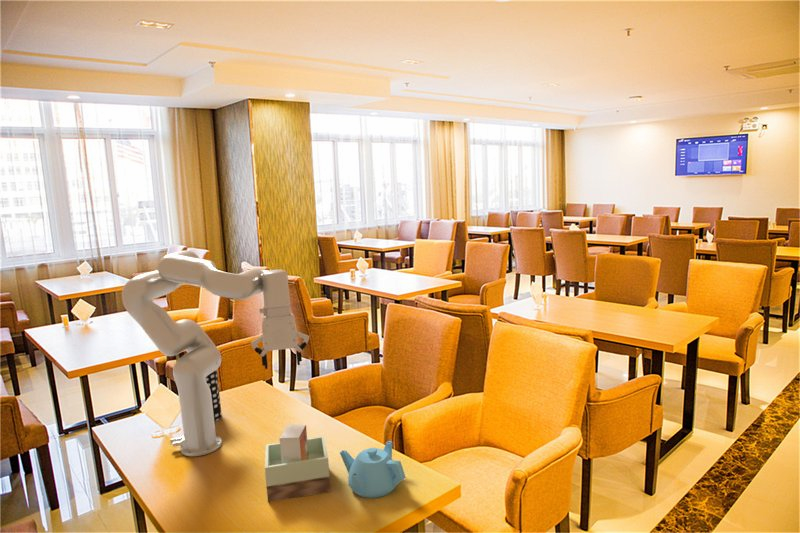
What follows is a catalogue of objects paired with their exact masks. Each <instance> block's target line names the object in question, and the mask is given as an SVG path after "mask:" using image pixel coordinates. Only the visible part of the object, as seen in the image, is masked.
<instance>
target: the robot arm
mask: <svg viewBox="0 0 800 533" xmlns="http://www.w3.org/2000/svg"><path fill="white" fill-rule="evenodd" d="M288 277H289V276H288V272H287V271H286V270H284V269H270V270H269V269H262V268H251V269H248V270H245V271H242V272H240V273H232V272H226V271H222V270H218V269H217V266H216V263H215V262H214V261H213V260H210V259H204V258H200V257H199V256H198V255H197V254H196V253H195V252H193V251H191V250H180V251H175V252H172V253H168V254H165V255H164V256H163V257H161V258H160V260H159V261H158V262H157V265H156V269H155V270H154V271H149V272H145V273H143V274H142V273H141V274H139V275H136V276H134V277H132V278H130V279H129V280H128V281H126V283H125V284H124V286H123V288H122V290H121V291H122V292H121V299H122V300H121V301H122V305H123V306H124V308H125V310H126V312H127V313H128V315H129V316H130V317H132V319H134V321H135V322H136V323H137V324H138V325H139V326H140V327H141V328H142V330H143V331H144V333H145V334H146V335H147V336H148V338H149V339H150V340H151V341H152V343H153V344H154V345H155V347H156V348H157V350H159V351H160V353H161V354H163V355H164V356H166V357H174V356H177V355H179V354H181V353H183V352H184V351H186V353H185V354H184V355H182V356H181V357H179V358H178V359H177V360H176V362H175V363H174V365H173V368H172V375H173V379H174V383H175V385H176V388H177V393H178V399H179V408H180V414H181V421H182V422H181V423H182V429H183V435H180V436H179V437H171V438H170V439H169V440H170V442H169V444H170V445H172V447H173V448H174V447H179V446H180V448H179V450H180V453H181V454H182V455H183V456H186V457H201V456H206V455H208V454H211V453H213V452H215V451H217V450H219V448H220V447H221V446H222V442H223V441H222V437H220V436H218V435H216V433H217V432H216V425H215V424H216V423H215V422H214V414H213V405H212V397H211V391H210V388H209V386H208V384H207V382H206V377H207V376H208V375H209V374H211V373H212V372H214V371H215V370H216V369H217V370H218V368H220V365H221V363H222V354H221V352H220V350H219V348H218V347H217V346H216V345H215V343H214V341H213V340H212V339H211V338H210V337H209V335H208V334H207V333H206V332H205V330H204V329H203V328H202V327H201V326H200V324H199V323H197V322H196V321H194V320H192V319H188V318H183V319H179V320H177V321H175V320H174V319H173V318H172V317H171V315H169V313H168V312H167V311H166V310H165V309H164V308H163V307H162V306H160V305H158V304H157V303H155V302H153V301H154V300H156V299H158V298H160V297H164V296H166V295H169V294H171V293H172V292H174V291H175V290H177V289H178V288H180V286H182V285H183V284H184V285H188V286H189V285H190V286H194V287H197V288H198V287H199V288H203V289H205V290H206V291H207V292H209V293H211V294H213V295H215V296H218V297H222V298H227V299H231V300H232V299H233V300H241V301H242V300H247V299H249V298H251V297H254V296H255V295H258V294H261V293H262V294H263V295H262V296H263V303H264V304H263V305H264V306H263V308H260V309H259V314H263V316H262V321H261V322H262V323H261V324H262V325H261V332H262V333H261V335H260V336H258V337H257V338H255V339H254V340H252V341H251V342H250V345H251V347H252V348H253V350H254V352H256V353H257V354H258V355H260V357H261V365H262V367H264V369H265V370H267V369H268V366H269V365H268V364H269V363H268V355H267V352H268V351H269V352H271V351H279V350H280V351H281V350H288V349H295V350H296V351H295V352H296V363H297V366H300V365H301V363H300V362H303V360H302V352H303V350H304V349H305V348H306V346H307V344H308V343H309V340H310V336H309V335H308V334H305V333H302V332H300V331H298V330H297V325H296V323H297V322H296V318H295V315H294V313H292V310H291V300H290V288H289V278H288ZM298 338H300V339H303V341H302V342H301V343H300V344H299V343H298V342H299V341H298ZM260 342H262V348H260V347H259V346H258V345H259V343H260Z"/></svg>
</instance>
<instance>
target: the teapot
mask: <svg viewBox="0 0 800 533" xmlns="http://www.w3.org/2000/svg"><path fill="white" fill-rule="evenodd" d="M339 454H340V457H341V459H342V462H343V463H344V466H345V469H346V471H347V473H348V476H347V479H348V480H347V483H348V487H349V488H350V489H351V490H352V491H353V492H354V493H355V494H357V495H358V496H360V497H362V498H368V499H377V498H381V497H382V498H383V497H385V496H387V495H388V494H390V493H392V492H393V491H394V490H395V488H396V487H397V485H399V484H400V483H401V482H403V481H404V479H406V477H407V476H406V474H405V471H404V467H403V465H402V462H401V460H394V459H393V441H391V440H388V441H386V442H385V445H384V448H383V449H382V448H376V447H369V448H367V449H363V450H362V451H360V452H359V453H358V454H357V455H356V457H355V458H353V457H352V455H351V454H350V453H349V452H348V451H347V450H344V449H342V450H340V452H339Z"/></svg>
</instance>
